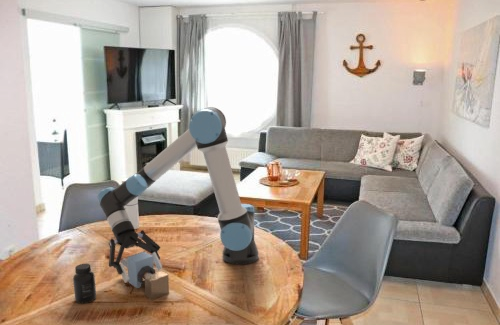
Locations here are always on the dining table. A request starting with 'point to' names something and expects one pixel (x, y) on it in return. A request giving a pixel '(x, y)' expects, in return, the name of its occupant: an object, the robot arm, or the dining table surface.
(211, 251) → the dining table surface
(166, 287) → the pipe rig
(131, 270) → the sleeve
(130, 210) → the cylindrical container
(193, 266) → the dining table surface
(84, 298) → the supplement bottle
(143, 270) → the ring
